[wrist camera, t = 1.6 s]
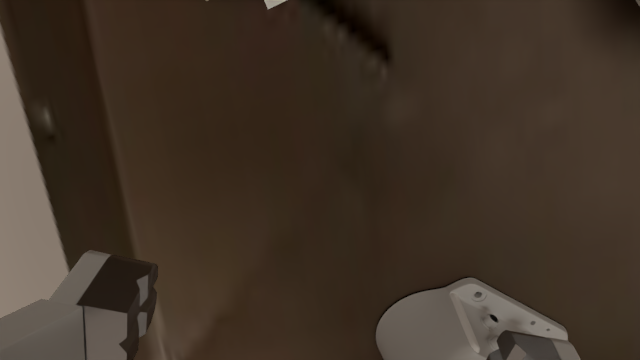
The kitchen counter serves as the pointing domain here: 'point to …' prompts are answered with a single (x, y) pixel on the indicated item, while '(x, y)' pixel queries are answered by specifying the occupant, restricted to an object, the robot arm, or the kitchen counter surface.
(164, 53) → the kitchen counter surface
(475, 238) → the kitchen counter surface
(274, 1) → the pivot stand
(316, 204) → the kitchen counter surface
